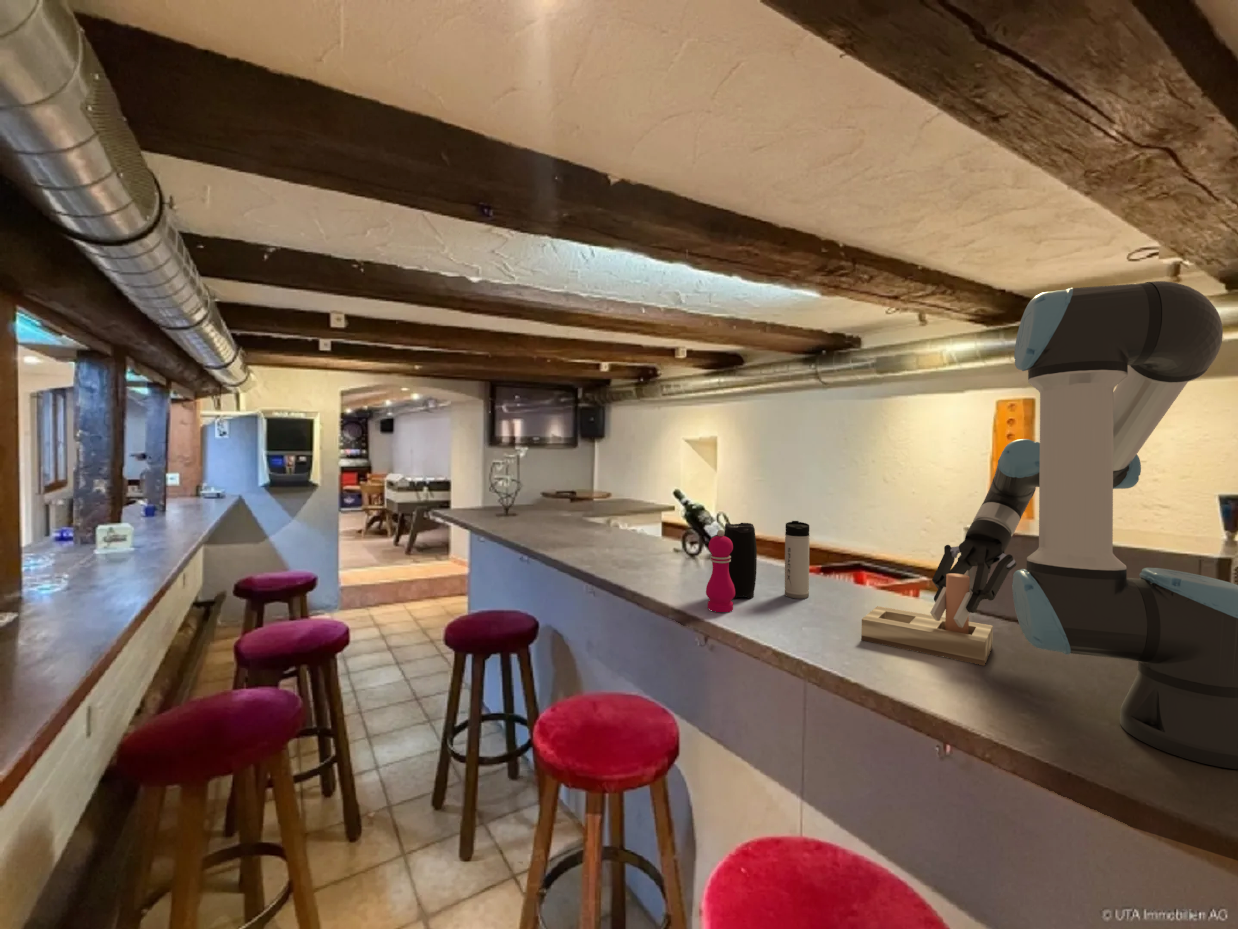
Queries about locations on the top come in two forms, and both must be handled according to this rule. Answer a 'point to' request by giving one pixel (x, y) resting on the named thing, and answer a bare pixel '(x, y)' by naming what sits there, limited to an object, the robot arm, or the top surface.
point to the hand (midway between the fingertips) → (946, 619)
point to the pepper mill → (720, 575)
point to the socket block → (927, 635)
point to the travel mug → (797, 560)
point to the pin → (955, 600)
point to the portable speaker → (742, 558)
